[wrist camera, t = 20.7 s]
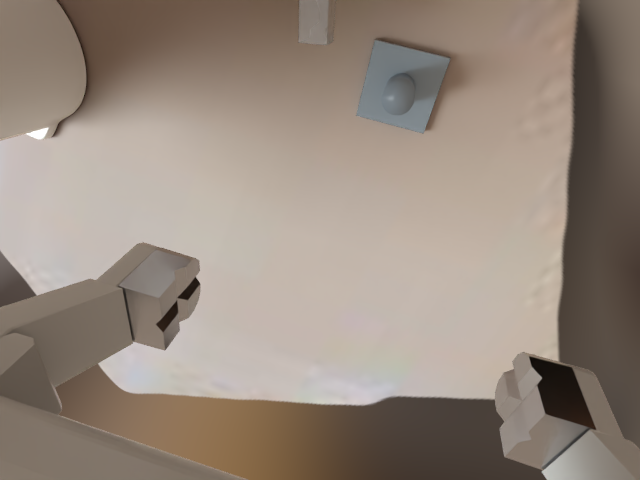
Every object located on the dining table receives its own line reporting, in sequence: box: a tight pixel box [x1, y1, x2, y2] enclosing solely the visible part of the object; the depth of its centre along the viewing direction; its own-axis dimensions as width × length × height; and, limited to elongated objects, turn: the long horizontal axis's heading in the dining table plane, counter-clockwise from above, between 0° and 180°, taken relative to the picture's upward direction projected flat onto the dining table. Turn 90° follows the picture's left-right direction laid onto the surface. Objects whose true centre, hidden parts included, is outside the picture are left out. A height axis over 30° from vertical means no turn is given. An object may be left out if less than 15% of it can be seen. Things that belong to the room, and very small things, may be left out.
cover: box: [356, 39, 450, 133], centre depth 30 cm, size 6×6×4 cm
